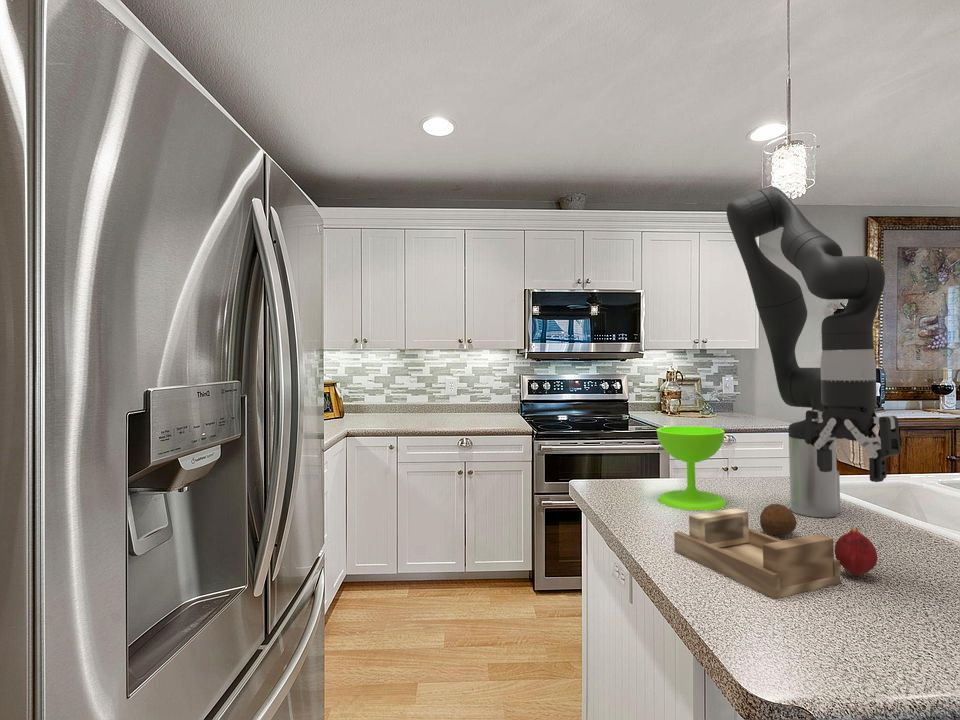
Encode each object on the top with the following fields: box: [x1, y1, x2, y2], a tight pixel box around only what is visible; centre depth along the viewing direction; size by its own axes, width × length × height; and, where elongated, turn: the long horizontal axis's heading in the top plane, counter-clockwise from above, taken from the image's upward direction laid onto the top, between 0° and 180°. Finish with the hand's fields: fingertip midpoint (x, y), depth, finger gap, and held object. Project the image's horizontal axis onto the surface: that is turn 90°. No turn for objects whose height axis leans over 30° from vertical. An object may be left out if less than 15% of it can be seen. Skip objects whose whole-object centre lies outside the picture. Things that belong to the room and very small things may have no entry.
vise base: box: [673, 528, 841, 600], centre depth 93 cm, size 14×22×7 cm, turn 20°
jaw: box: [688, 507, 750, 548], centre depth 100 cm, size 12×2×6 cm, turn 110°
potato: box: [759, 503, 798, 538], centre depth 109 cm, size 7×10×6 cm
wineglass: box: [656, 425, 727, 511], centre depth 135 cm, size 16×16×18 cm
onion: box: [834, 525, 878, 577], centre depth 88 cm, size 6×6×8 cm
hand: (850, 476), depth 88 cm, fingers open, 8 cm apart
